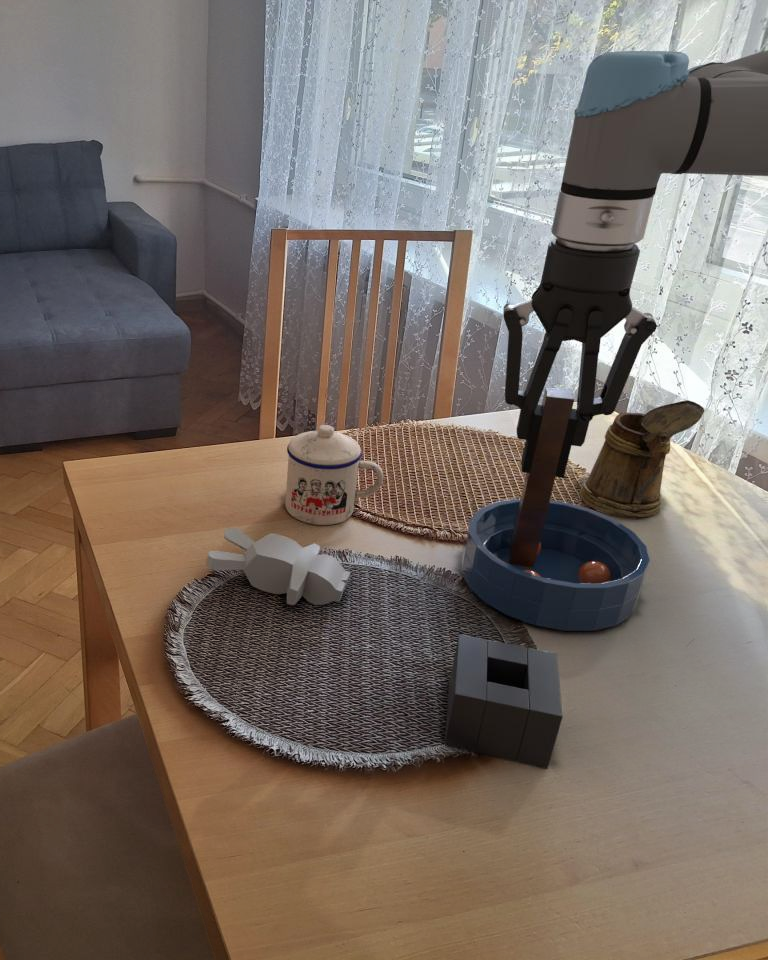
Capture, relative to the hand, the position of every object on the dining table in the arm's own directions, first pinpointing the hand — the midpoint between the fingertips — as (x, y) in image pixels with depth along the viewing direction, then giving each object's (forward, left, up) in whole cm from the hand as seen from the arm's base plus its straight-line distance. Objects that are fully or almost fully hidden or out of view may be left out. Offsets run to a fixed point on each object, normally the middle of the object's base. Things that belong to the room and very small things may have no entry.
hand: (542, 468), depth 89 cm
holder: (+2, +24, -14) cm, 28 cm away
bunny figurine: (+25, +9, -14) cm, 30 cm away
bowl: (-3, 0, -14) cm, 15 cm away
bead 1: (-1, +4, -12) cm, 13 cm away
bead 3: (-7, 0, -12) cm, 14 cm away
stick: (0, 0, -12) cm, 12 cm away
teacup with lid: (+22, -9, -14) cm, 28 cm away
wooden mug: (-13, -20, -14) cm, 28 cm away
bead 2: (-1, -4, -12) cm, 13 cm away
